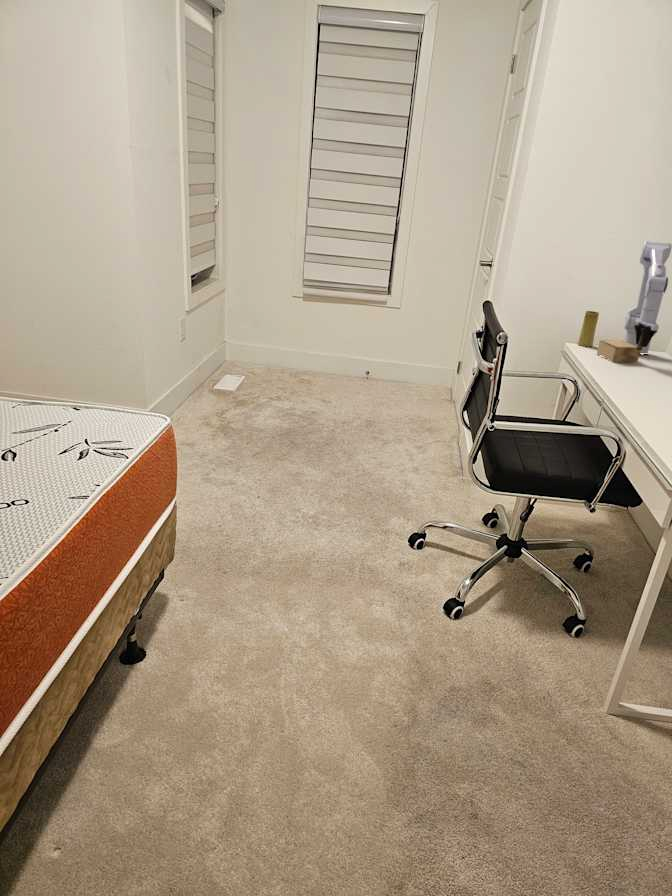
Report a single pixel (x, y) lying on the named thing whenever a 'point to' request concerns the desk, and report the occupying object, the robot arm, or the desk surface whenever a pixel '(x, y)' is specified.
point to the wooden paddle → (627, 353)
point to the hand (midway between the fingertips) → (641, 345)
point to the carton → (611, 347)
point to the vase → (588, 328)
